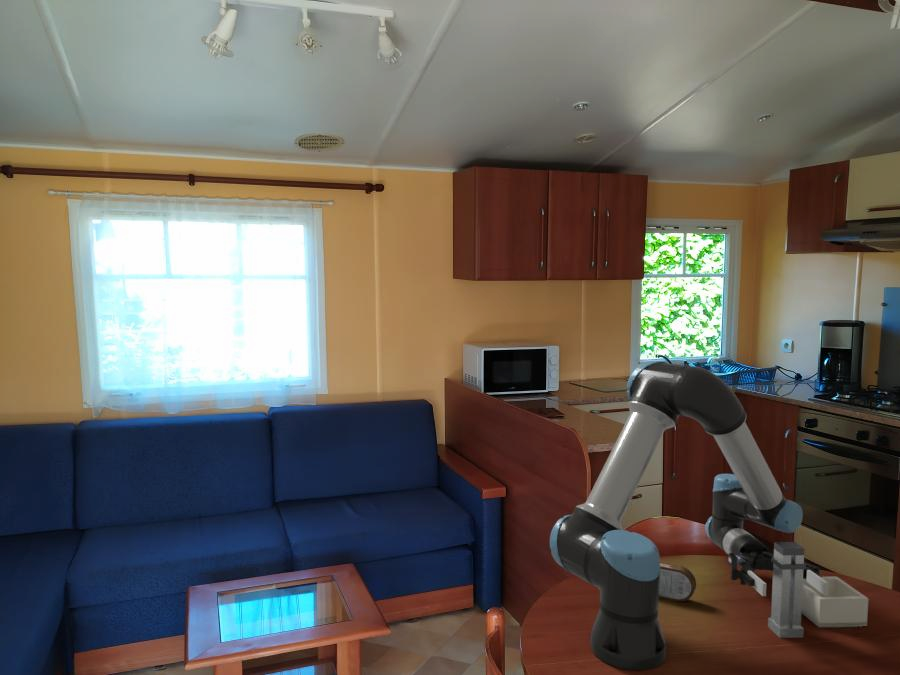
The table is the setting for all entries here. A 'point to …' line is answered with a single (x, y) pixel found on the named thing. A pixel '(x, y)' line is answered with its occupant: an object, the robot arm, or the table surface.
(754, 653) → the table surface
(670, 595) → the tin
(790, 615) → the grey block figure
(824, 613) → the open box
